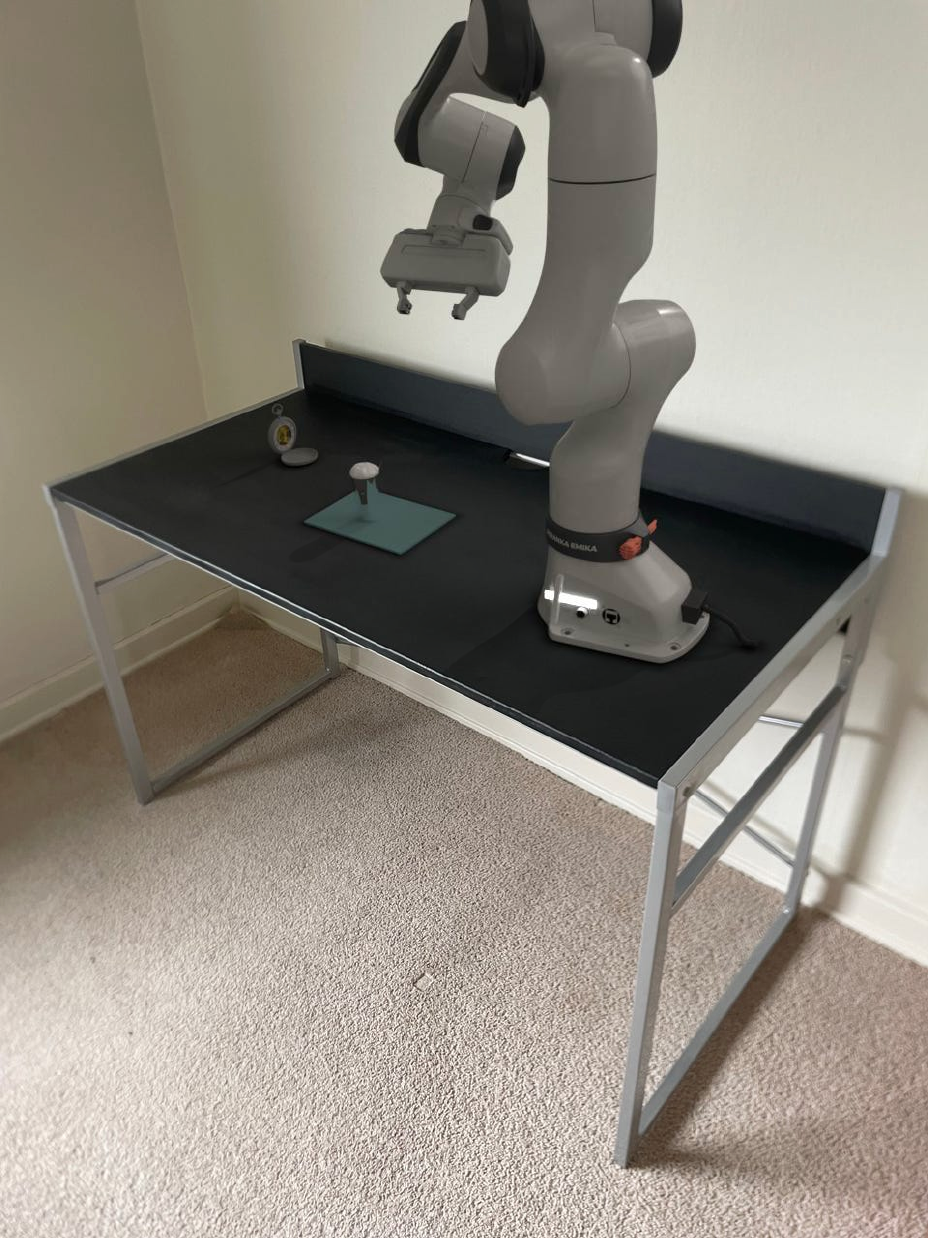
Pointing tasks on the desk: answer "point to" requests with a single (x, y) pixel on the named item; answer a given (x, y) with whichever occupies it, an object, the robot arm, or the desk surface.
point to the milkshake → (366, 490)
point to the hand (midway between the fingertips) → (429, 315)
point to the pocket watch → (288, 442)
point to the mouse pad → (382, 522)
